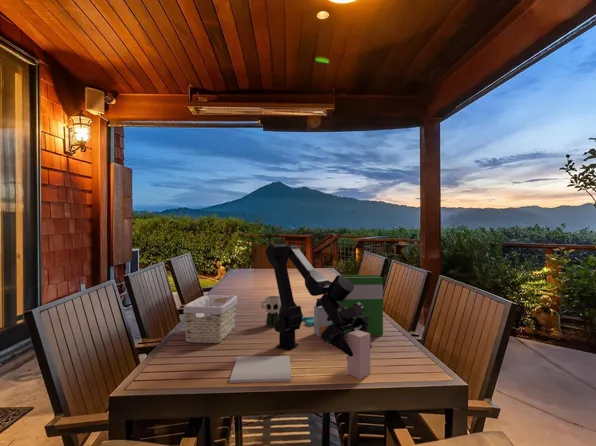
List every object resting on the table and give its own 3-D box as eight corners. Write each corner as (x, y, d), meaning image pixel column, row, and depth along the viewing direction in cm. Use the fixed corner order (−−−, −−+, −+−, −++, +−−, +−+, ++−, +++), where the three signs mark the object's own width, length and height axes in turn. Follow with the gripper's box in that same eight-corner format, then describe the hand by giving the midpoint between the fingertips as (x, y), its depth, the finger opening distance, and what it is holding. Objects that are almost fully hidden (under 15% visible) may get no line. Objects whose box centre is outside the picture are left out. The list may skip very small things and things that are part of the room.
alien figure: (292, 321, 170) (322, 331, 155) (292, 317, 170) (321, 325, 155) (321, 314, 183) (351, 322, 168) (321, 310, 183) (351, 317, 168)
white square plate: (237, 359, 122) (237, 356, 122) (289, 358, 122) (289, 355, 122) (229, 382, 104) (229, 379, 104) (291, 381, 104) (291, 378, 104)
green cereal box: (378, 329, 155) (378, 274, 155) (383, 335, 148) (382, 277, 148) (338, 330, 155) (338, 275, 155) (340, 335, 147) (340, 277, 147)
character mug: (259, 327, 158) (259, 298, 158) (262, 323, 165) (262, 295, 165) (284, 328, 158) (284, 299, 158) (285, 323, 165) (285, 295, 165)
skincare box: (318, 336, 146) (318, 307, 146) (313, 333, 150) (313, 305, 150) (331, 334, 148) (331, 306, 148) (326, 331, 152) (326, 303, 152)
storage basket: (203, 326, 161) (203, 294, 161) (238, 327, 160) (238, 294, 160) (181, 344, 137) (181, 306, 137) (222, 345, 136) (222, 307, 136)
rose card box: (347, 373, 110) (347, 333, 110) (357, 369, 113) (357, 329, 113) (360, 378, 106) (360, 337, 106) (370, 374, 109) (370, 333, 109)
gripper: (327, 299, 106) (357, 345, 98) (365, 291, 119) (394, 331, 111) (309, 320, 112) (336, 365, 104) (347, 310, 125) (373, 350, 117)
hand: (361, 352), depth 109 cm, fingers open, 9 cm apart
